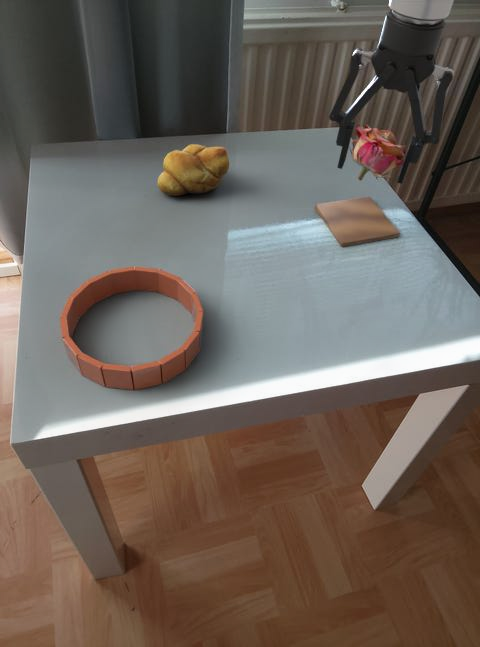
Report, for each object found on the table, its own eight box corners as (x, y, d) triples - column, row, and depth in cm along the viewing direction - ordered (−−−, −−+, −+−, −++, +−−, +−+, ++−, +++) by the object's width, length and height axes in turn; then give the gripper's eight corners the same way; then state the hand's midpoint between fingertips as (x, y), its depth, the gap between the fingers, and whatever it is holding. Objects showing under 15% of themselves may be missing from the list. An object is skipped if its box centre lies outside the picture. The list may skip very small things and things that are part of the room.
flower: (382, 192, 74) (415, 142, 71) (329, 160, 75) (360, 110, 73) (384, 195, 83) (413, 151, 81) (337, 167, 84) (364, 122, 82)
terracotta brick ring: (228, 343, 68) (230, 324, 65) (112, 414, 60) (107, 396, 57) (153, 270, 77) (152, 250, 74) (42, 323, 68) (35, 303, 65)
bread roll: (166, 207, 87) (164, 166, 81) (147, 178, 93) (144, 137, 87) (233, 192, 92) (235, 151, 86) (211, 164, 97) (212, 125, 91)
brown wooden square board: (398, 237, 86) (400, 233, 85) (341, 247, 83) (342, 243, 83) (368, 199, 93) (369, 196, 92) (314, 208, 90) (315, 204, 89)
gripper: (505, 20, 64) (440, 176, 81) (339, -10, 68) (311, 144, 85) (505, 40, 59) (436, 201, 76) (327, 7, 63) (299, 166, 80)
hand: (370, 171), depth 80 cm, fingers closed on flower, 9 cm apart
